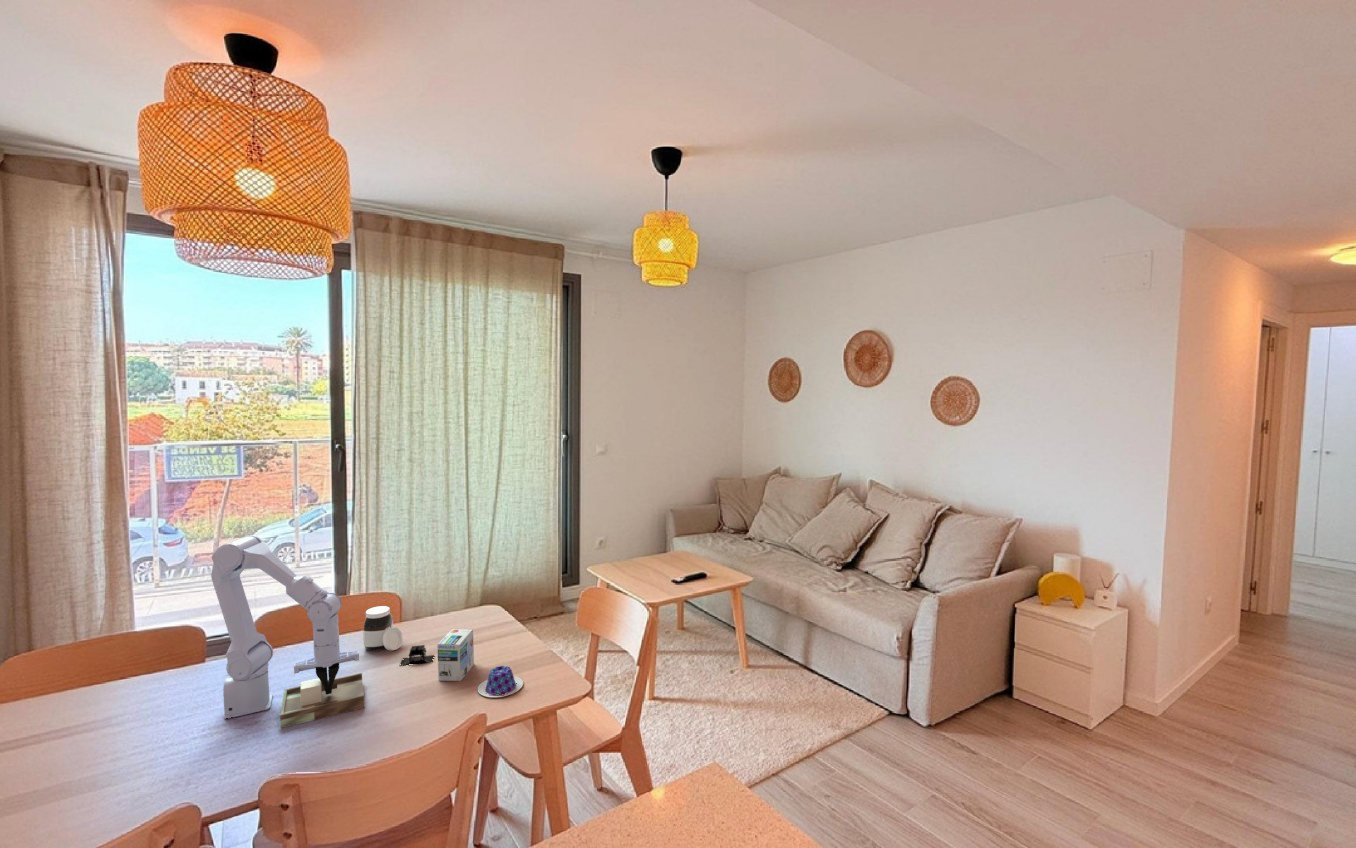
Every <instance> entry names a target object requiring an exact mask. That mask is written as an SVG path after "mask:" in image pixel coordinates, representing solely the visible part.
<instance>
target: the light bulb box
mask: <svg viewBox="0 0 1356 848" xmlns="http://www.w3.org/2000/svg"><path fill="white" fill-rule="evenodd" d="M436 646H437V666H438V667H437V671H438V672H437V673H438V674H437V676H438V681H443V682H444V681H446V682H450V681H451V682H461V681H462V680H463V679H464V678H465V676H467V674H468V673H469V671H470V670H471V669H472V668H473V667H474V665H475V655H474V653H475V652H474V650H475V649H474V647H475V646H474V629H462V628H461V629H459V628H451V630H449V632H447V634H446V635H445V636H444V637H443V638H442V639H441V640H440V641H439V642H438V643H437V645H436Z"/></svg>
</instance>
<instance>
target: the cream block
mask: <svg viewBox="0 0 1356 848" xmlns="http://www.w3.org/2000/svg"><path fill="white" fill-rule="evenodd" d="M300 686H301V689H300V690H301V706H305V705H309V704H313V703H318V702H322V685H321V680H320V679H319V678H318V677H317V678H312V679H309V680H304V681H301V682H300Z"/></svg>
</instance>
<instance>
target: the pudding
mask: <svg viewBox="0 0 1356 848" xmlns="http://www.w3.org/2000/svg"><path fill="white" fill-rule="evenodd" d="M516 683H517V684H516ZM485 686H486V688H485ZM523 686H524V681H523V680H522V678H520V677H519V676H516V675H514V674H513V669H511V667H509V666H507V665H506V666H505V665H500V666H496V667H494V668H492V669H490V670H489V673H488V677H487V679H485V680H484V681H482V682H481V683H480V684H479V685H478V686H477V691H478V693H479V695H482V697H483V696H484V697H487V698H503V697H506V696H509V695H513V694H514V693H517V692H518V691H520V689H521V688H522V687H523ZM484 688H485V690H484ZM515 688H516V689H515ZM484 691H485V692H484ZM485 693H487V694H485ZM505 693H506V694H505ZM507 693H508V694H507ZM489 694H490V695H496V694H497V695H498V694H499V695H502V694H503V695H504V694H505V695H504V696H489Z"/></svg>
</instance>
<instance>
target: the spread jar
mask: <svg viewBox="0 0 1356 848" xmlns="http://www.w3.org/2000/svg"><path fill="white" fill-rule="evenodd" d="M390 610H391V608H390V606H386V605H382V606H379V605H378V606H375V607H371V608H369V609H367V610H366V611H365V620H364V622H363V626H362V627H363V630H362V631H363V632H362V633H363V638H362V639H363V647H364V649H366V650H369V651H381V650H384V649H386V650H388V651H391V652H392V651H395V650H396V651H397V650H398V649H399V648H400V647H401V646H402V644H403V640H404V639H403V633H402V631H401V630H400V628H398V627H394V618H393V615H392V614H391V613H390V612H391V611H390Z"/></svg>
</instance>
